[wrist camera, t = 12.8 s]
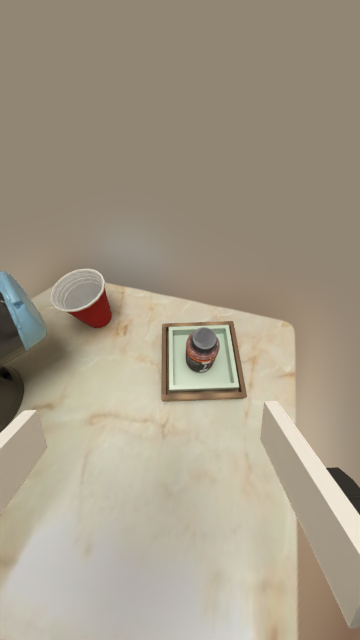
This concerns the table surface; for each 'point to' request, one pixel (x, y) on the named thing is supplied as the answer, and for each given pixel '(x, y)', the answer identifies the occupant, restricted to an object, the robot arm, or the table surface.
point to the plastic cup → (82, 297)
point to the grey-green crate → (214, 379)
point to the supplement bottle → (201, 349)
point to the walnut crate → (203, 395)
